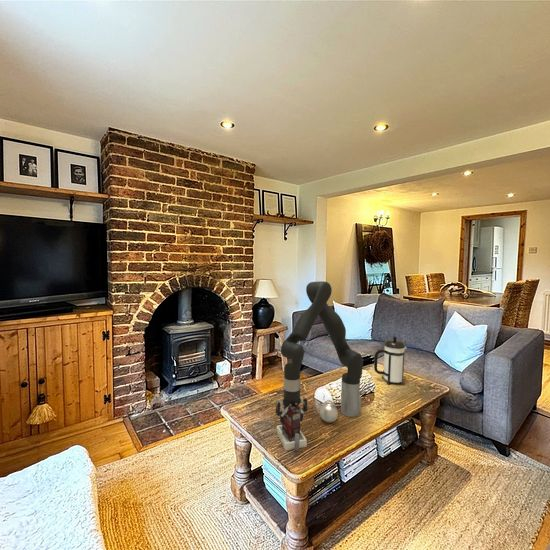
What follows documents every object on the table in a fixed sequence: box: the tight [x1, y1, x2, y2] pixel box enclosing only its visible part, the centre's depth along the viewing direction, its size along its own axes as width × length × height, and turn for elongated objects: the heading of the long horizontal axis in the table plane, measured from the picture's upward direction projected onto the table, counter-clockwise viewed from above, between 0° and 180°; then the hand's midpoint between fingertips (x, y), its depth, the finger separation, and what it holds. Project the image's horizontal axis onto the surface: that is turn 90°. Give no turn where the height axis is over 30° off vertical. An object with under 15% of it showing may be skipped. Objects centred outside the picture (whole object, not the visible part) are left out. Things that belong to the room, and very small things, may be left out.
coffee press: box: [373, 335, 407, 386], centre depth 195 cm, size 17×16×30 cm
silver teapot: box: [319, 399, 339, 423], centre depth 150 cm, size 9×10×10 cm
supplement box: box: [281, 404, 302, 442], centre depth 135 cm, size 9×5×16 cm, turn 29°
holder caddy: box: [276, 424, 308, 452], centre depth 136 cm, size 10×17×7 cm, turn 16°
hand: (291, 421), depth 135 cm, fingers open, 8 cm apart
